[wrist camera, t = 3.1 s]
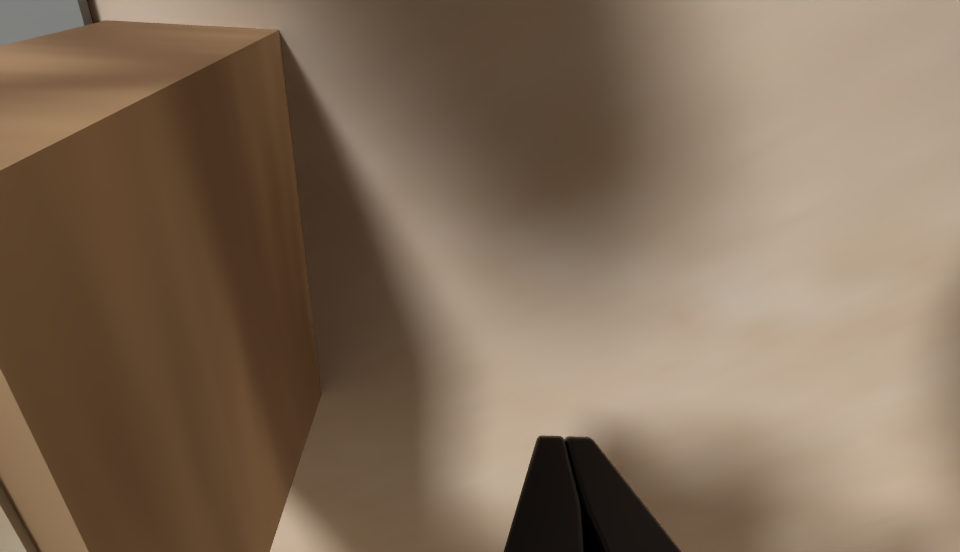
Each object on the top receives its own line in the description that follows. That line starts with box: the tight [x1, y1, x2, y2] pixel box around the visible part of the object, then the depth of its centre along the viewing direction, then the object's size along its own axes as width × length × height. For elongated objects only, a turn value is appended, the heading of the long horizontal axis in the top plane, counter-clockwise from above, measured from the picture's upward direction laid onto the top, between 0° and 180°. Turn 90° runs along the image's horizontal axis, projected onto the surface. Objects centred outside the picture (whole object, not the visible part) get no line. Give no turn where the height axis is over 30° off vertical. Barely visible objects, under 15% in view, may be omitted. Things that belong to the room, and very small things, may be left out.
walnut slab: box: [0, 20, 321, 552], centre depth 11 cm, size 4×10×9 cm, turn 177°
